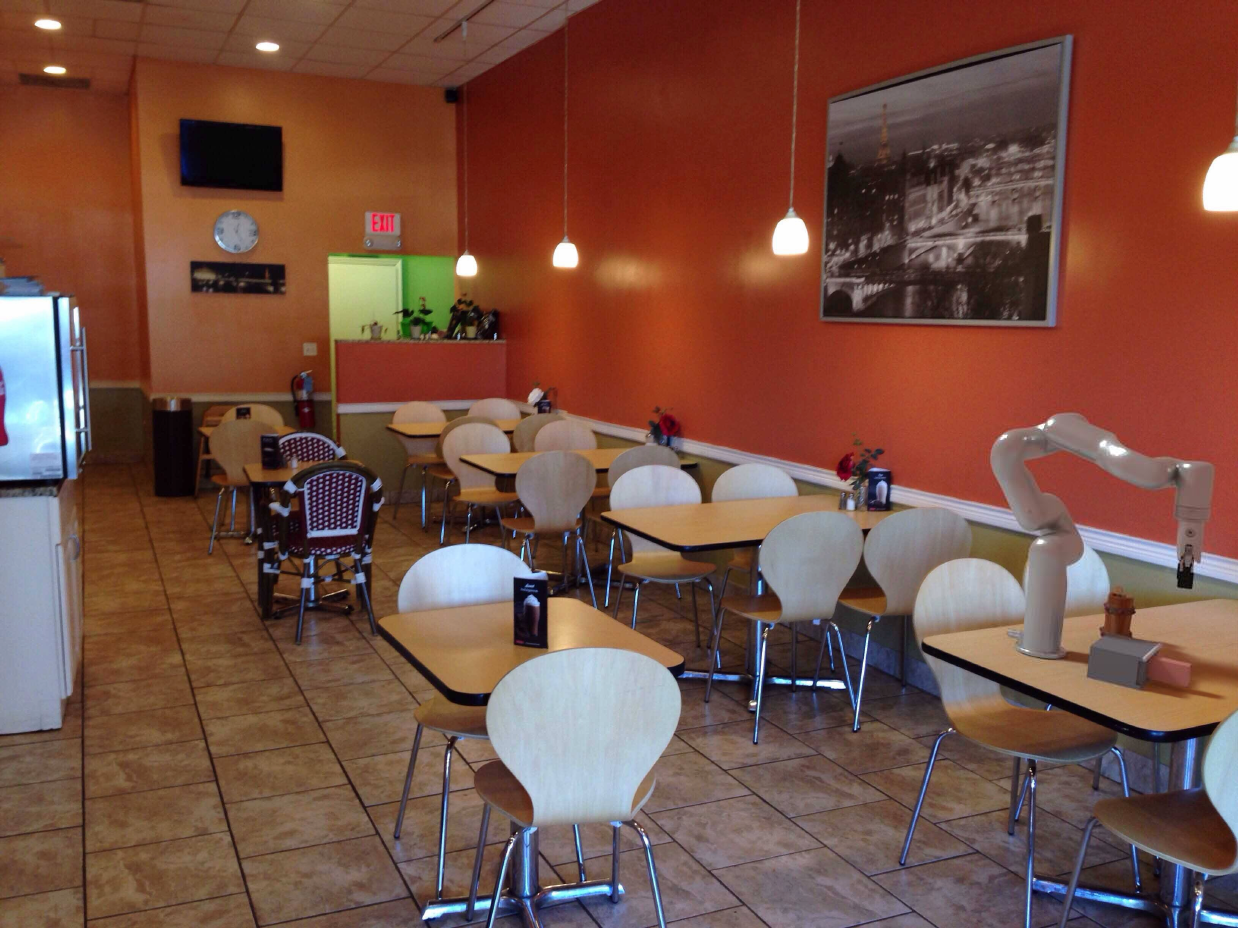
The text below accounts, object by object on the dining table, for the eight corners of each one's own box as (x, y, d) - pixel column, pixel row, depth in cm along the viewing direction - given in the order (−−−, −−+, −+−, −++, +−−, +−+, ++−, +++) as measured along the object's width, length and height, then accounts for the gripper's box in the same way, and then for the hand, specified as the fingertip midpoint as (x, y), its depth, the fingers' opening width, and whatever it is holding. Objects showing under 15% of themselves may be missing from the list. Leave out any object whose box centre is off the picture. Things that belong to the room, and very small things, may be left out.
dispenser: (1086, 676, 255) (1090, 644, 254) (1104, 662, 267) (1108, 631, 266) (1142, 690, 247) (1146, 657, 246) (1158, 674, 259) (1162, 643, 258)
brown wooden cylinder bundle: (1133, 652, 276) (1140, 598, 274) (1099, 648, 279) (1106, 593, 277) (1127, 637, 290) (1133, 585, 288) (1095, 633, 293) (1101, 581, 290)
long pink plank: (1105, 667, 258) (1107, 648, 258) (1108, 664, 261) (1111, 645, 260) (1185, 686, 247) (1188, 666, 246) (1188, 683, 249) (1191, 663, 249)
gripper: (1211, 520, 236) (1203, 594, 238) (1208, 510, 251) (1200, 579, 254) (1174, 516, 240) (1166, 589, 242) (1173, 506, 255) (1166, 574, 257)
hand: (1184, 583), depth 248 cm, fingers open, 9 cm apart
